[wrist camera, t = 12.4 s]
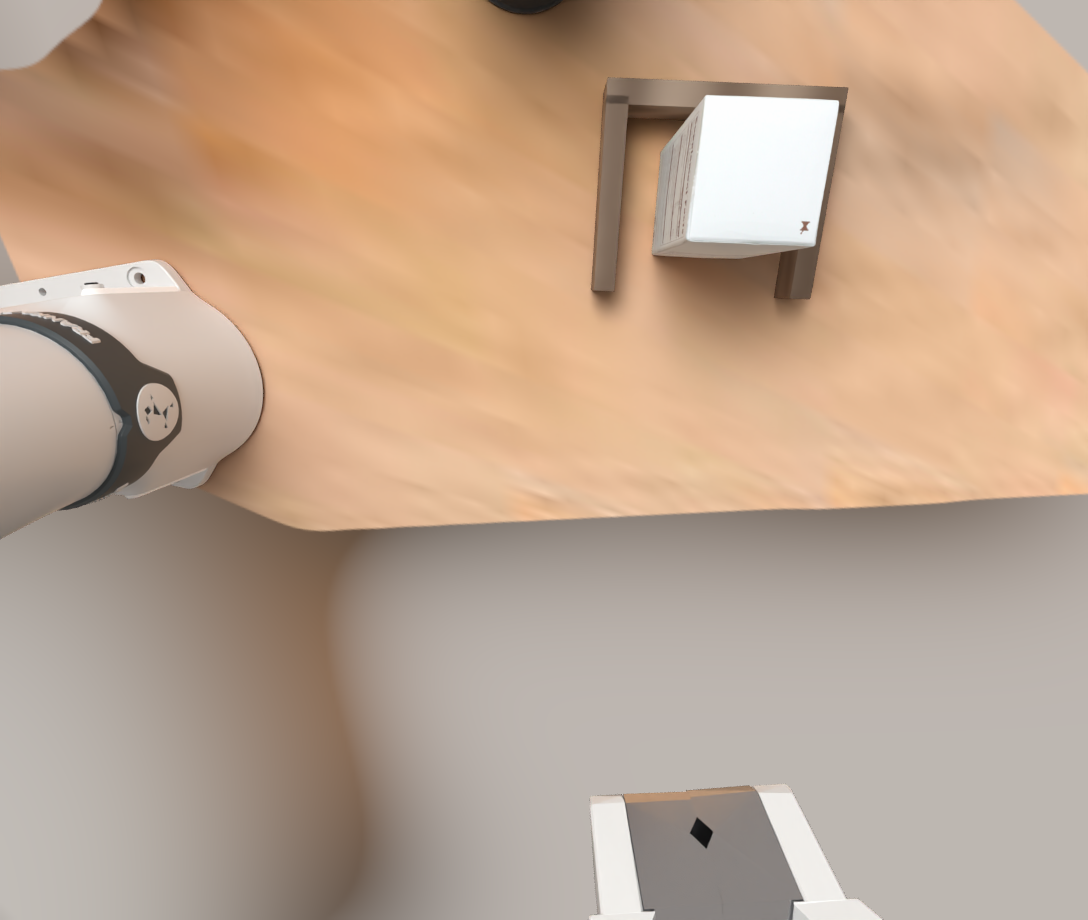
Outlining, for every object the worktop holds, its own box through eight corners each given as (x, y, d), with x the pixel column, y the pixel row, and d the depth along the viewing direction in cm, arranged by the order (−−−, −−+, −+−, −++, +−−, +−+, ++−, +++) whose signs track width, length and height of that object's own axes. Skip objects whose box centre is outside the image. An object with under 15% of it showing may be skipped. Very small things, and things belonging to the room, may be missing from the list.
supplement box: (758, 154, 40) (847, 97, 28) (741, 261, 42) (818, 251, 30) (658, 148, 40) (704, 89, 28) (647, 255, 42) (685, 243, 30)
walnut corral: (591, 290, 43) (594, 290, 40) (603, 92, 39) (607, 77, 36) (792, 298, 43) (810, 299, 40) (826, 101, 39) (848, 87, 36)
